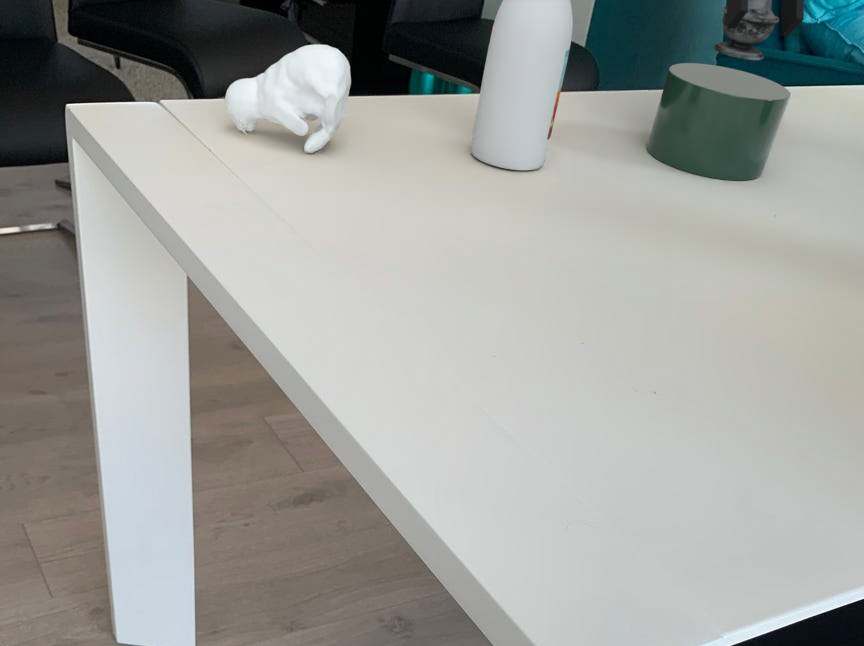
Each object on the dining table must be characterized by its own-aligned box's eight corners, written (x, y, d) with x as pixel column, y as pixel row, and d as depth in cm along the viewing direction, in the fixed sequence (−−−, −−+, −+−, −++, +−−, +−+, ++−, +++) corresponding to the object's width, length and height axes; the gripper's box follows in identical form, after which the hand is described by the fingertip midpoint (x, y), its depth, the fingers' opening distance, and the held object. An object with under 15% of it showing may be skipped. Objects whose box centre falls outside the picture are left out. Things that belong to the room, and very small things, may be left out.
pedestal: (772, 162, 116) (800, 86, 111) (748, 190, 107) (778, 107, 102) (664, 132, 120) (686, 56, 114) (632, 156, 111) (655, 75, 105)
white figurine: (344, 56, 90) (212, 45, 91) (342, 158, 96) (218, 147, 97) (356, 41, 95) (231, 31, 96) (354, 139, 101) (236, 129, 102)
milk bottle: (534, 178, 100) (589, -64, 87) (460, 160, 101) (503, -82, 88) (550, 158, 106) (603, -73, 93) (479, 141, 107) (522, -89, 94)
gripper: (825, -157, 108) (825, 57, 107) (663, -185, 104) (662, 35, 104) (871, -218, 100) (871, 11, 99) (698, -251, 97) (697, -14, 96)
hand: (764, 23), depth 101 cm, fingers closed on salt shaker, 5 cm apart
